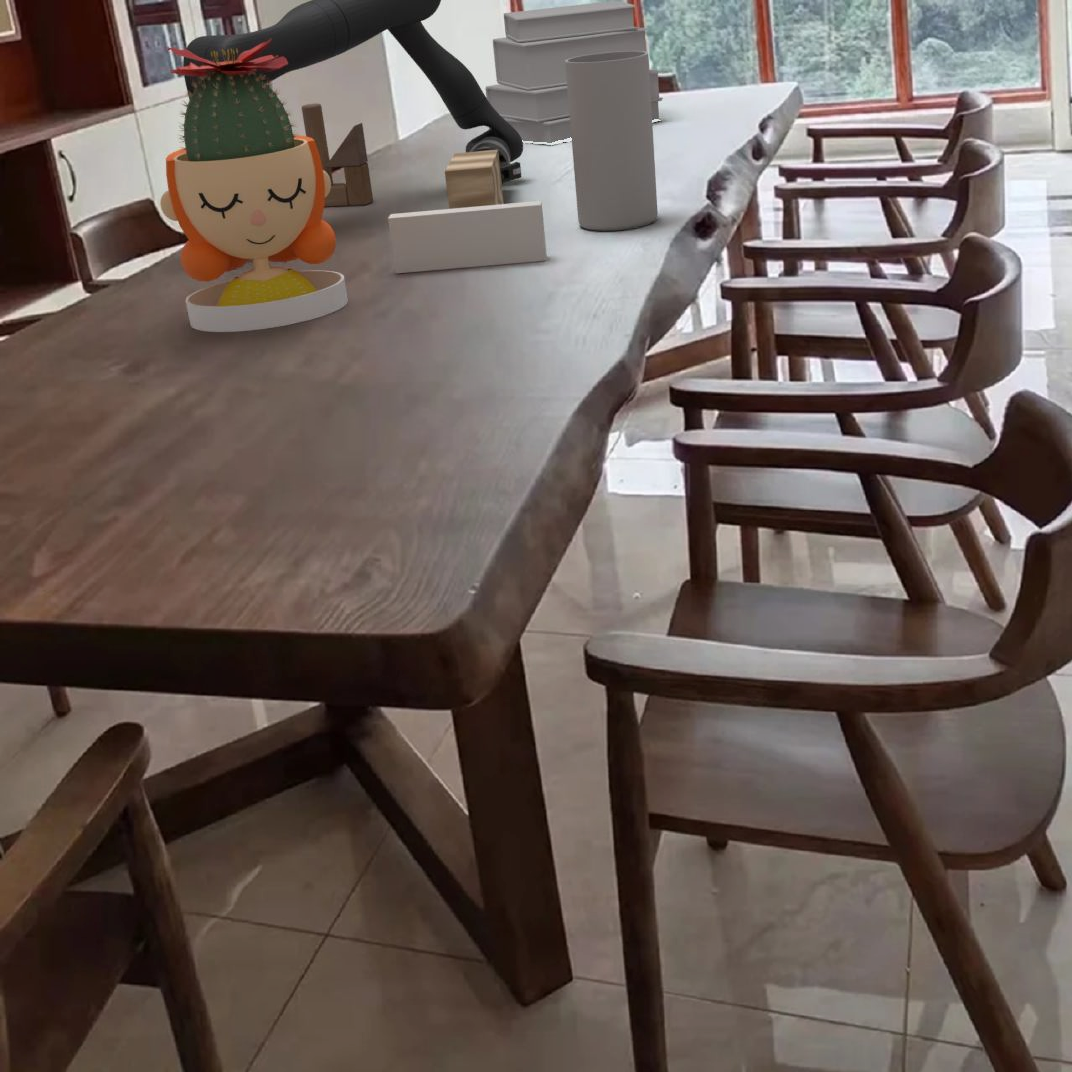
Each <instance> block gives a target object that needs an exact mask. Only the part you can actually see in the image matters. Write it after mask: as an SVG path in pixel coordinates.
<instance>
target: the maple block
mask: <svg viewBox="0 0 1072 1072" xmlns="http://www.w3.org/2000/svg"><path fill="white" fill-rule="evenodd" d="M444 175H445V176H444V177H445V184H446V191H447V192H446V193H447V200H448V202H447V203H448V209H454V208H466V207H477V206H488V205H499V204H505V203H504V195H503V184H501V174H500V164H499V155H498V150H489V151H478V152H467V153H466V152H459V153H457V152H456V153H454V154H453V156H452V158H451V160H450V161H449V163H448V165H447V167H446V168H445V170H444Z"/></svg>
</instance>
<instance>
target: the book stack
mask: <svg viewBox="0 0 1072 1072" xmlns="http://www.w3.org/2000/svg"><path fill="white" fill-rule="evenodd" d="M634 8H637V7H636V5H635V4H632V3H628V2H624V1H621V0H611V1H601V2H591V3H584V4H575V5H566V6H565V5H563V6H555V7H548V8H539V9H529V10H521V11H513V12H505V13H503V22H504V32H505V37H501V38H500V37H499V38H492V48H493V57H494V58H493V59H494V68H495V76H496V77H495V78H496V82H497V84H493V85H486V86H485V88H484V89H485V96H486V98H487V100H488V101H489V103H490V104H491V105H492V107H493V108H494V109H495V110H496V111H497V112H498V113H499V115H500V116H501V117H503V118H504V119H505V120H506V121H507V122H508V123H509V124H510V125H511V126H512V127H513V128H514V129H515V130H516V131H517V132H518V133H519V135H520V137H521V139H522V140H523V141H533V142H547V143H552V142H555V141H558V140H564V139H567V138H570V137H571V126H570V114H569V102H568V90H567V78H566V66H565V60H567V59H570V58H574V57H578V56H584V55H591V54H598V53H608V52H621V51H644V52H647V48H646V44H647V43H646V34H645V33H646V31H649V29H648V28H647V27H640V26H639V27H638V26H635V22H634ZM659 73H662V70H658V69H649V75H650V92H651V109H652V120H654V119H660V112H659V108H660V107H659V102H662V100H663V99H664V98H663V97H660V87H659ZM489 129H491V128H489V127H488V130H489Z"/></svg>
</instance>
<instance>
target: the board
mask: <svg viewBox="0 0 1072 1072" xmlns="http://www.w3.org/2000/svg"><path fill="white" fill-rule="evenodd" d="M387 221H388V227H389V228H388V229H389V236H390V243H391V250H392V255H393V256H392V257H393V265H394V271H395V274H405V273H406V274H407V273H415V272H416V273H417V272H418V273H419V272H427V271H440V270H452V269H464V268H465V269H466V268H475V267H486V266H498V265H499V266H500V265H509V264H519V263H520V264H521V263H522V264H523V263H532V262H534V263H535V262H545V261H547V256H548V255H547V244H546V234H545V225H544V213H543V202H542V200H537V201H536V200H535V201H534V200H533V201H524V202H511V203H504V204H499V205H488V206H477V207H466V208H454V209H449V208H448V209H447V208H445V209H434V210H423V211H412V212H403V213H402V212H399V213H390V215H389V216H388V217H387Z"/></svg>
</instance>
